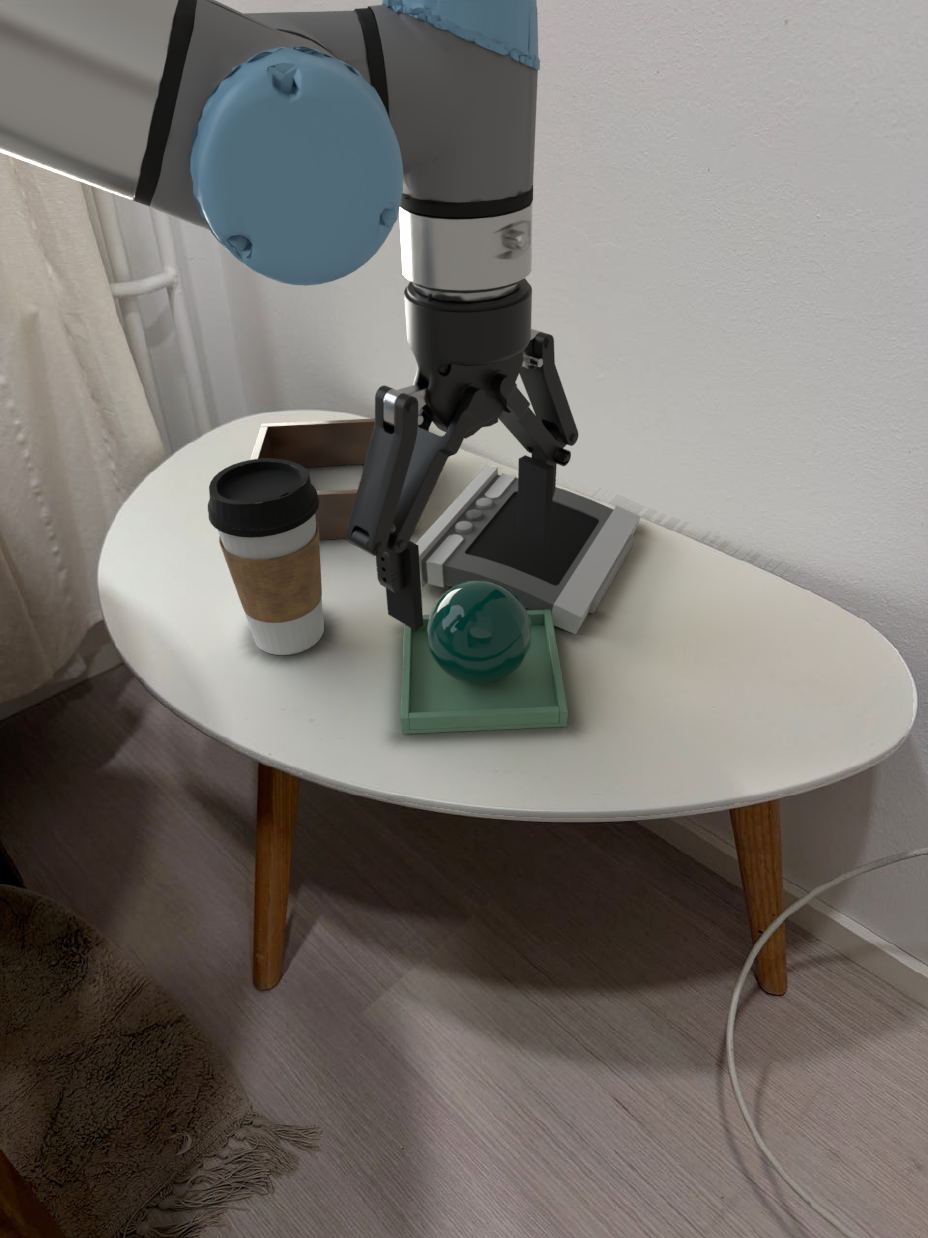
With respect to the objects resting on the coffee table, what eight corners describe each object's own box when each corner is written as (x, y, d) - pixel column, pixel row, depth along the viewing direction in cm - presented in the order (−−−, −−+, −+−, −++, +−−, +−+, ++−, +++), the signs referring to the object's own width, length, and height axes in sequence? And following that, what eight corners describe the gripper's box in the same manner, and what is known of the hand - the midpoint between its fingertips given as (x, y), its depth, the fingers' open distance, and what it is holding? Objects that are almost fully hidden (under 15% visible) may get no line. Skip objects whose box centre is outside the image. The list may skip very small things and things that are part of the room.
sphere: (409, 668, 73) (401, 587, 68) (486, 626, 77) (484, 547, 72) (473, 722, 68) (469, 639, 63) (552, 674, 72) (555, 592, 67)
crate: (247, 543, 89) (237, 498, 86) (269, 465, 101) (261, 423, 98) (408, 535, 89) (404, 490, 86) (411, 458, 101) (407, 416, 98)
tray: (402, 734, 68) (400, 718, 67) (405, 630, 77) (404, 615, 76) (567, 726, 68) (567, 711, 67) (550, 623, 77) (550, 609, 76)
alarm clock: (486, 465, 91) (646, 491, 86) (488, 506, 94) (643, 534, 88) (406, 553, 79) (587, 590, 73) (411, 597, 82) (586, 636, 76)
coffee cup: (273, 680, 73) (237, 519, 64) (220, 631, 78) (180, 476, 69) (358, 634, 77) (337, 477, 68) (303, 591, 82) (275, 439, 73)
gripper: (347, 360, 45) (381, 686, 58) (644, 242, 59) (617, 526, 72) (254, 324, 49) (305, 635, 62) (553, 222, 63) (543, 493, 76)
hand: (473, 577), depth 67 cm, fingers open, 13 cm apart
